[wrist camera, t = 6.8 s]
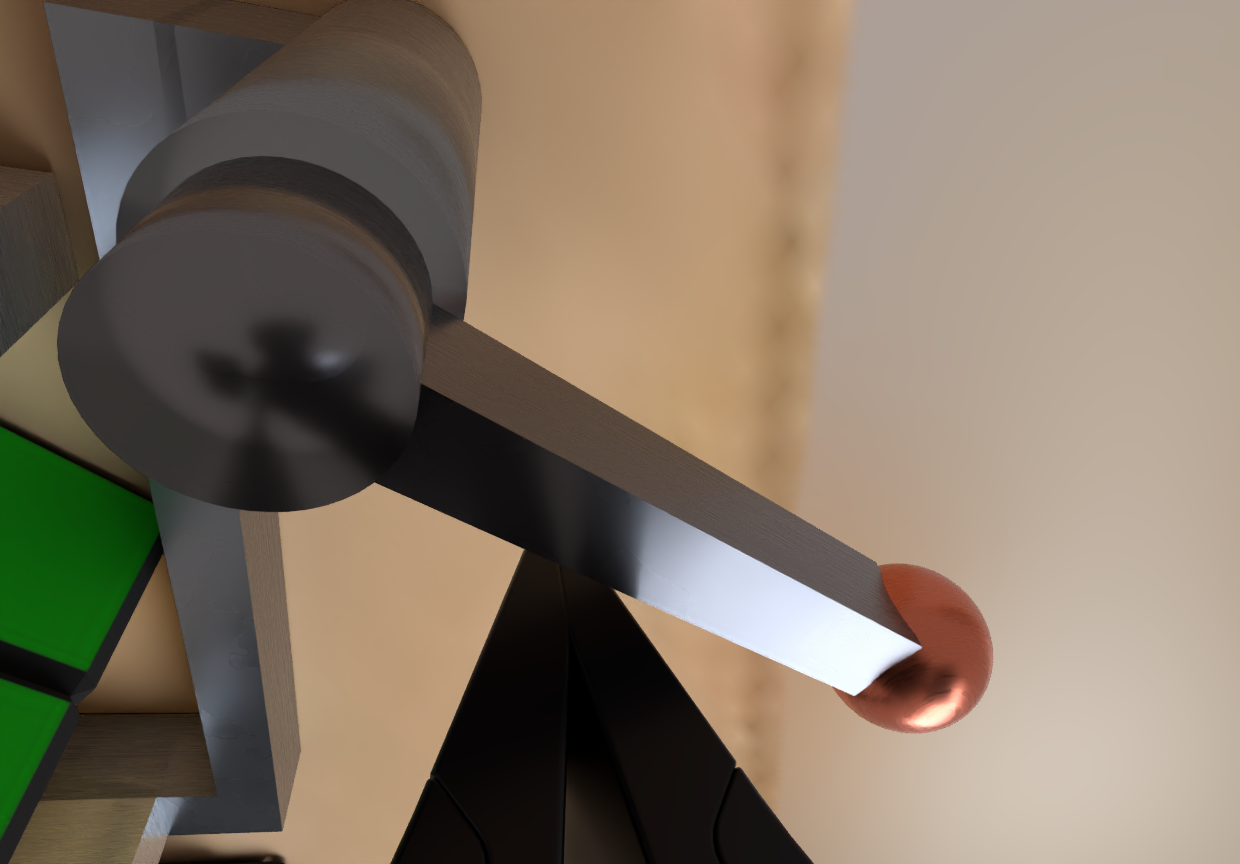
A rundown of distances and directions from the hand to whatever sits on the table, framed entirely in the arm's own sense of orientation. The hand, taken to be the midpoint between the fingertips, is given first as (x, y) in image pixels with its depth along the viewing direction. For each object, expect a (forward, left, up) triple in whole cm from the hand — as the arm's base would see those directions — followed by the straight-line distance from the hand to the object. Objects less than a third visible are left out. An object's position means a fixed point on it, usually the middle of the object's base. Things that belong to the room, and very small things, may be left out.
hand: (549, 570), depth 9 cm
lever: (+2, -1, 0) cm, 2 cm away
